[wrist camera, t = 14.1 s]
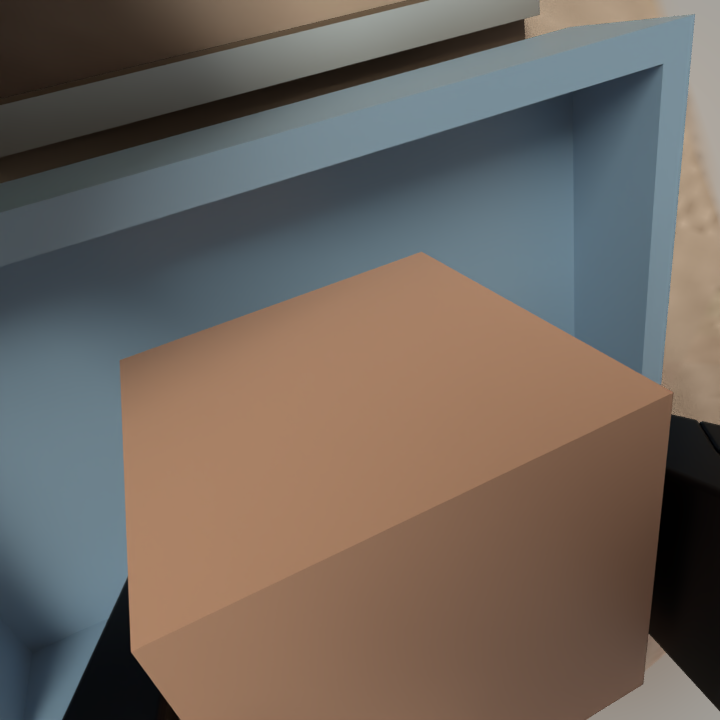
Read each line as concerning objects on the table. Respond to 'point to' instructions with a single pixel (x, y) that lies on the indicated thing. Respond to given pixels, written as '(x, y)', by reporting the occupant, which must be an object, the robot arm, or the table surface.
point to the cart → (311, 268)
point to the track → (244, 79)
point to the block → (391, 509)
